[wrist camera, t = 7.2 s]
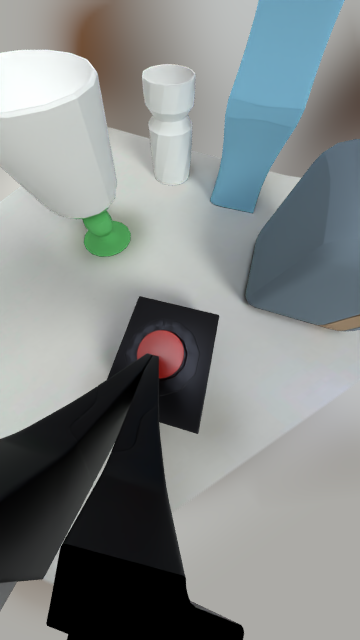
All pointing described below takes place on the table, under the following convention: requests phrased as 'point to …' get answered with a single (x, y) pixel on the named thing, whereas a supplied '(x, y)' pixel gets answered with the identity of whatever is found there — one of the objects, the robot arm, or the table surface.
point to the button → (163, 351)
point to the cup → (60, 140)
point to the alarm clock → (314, 246)
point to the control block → (191, 378)
